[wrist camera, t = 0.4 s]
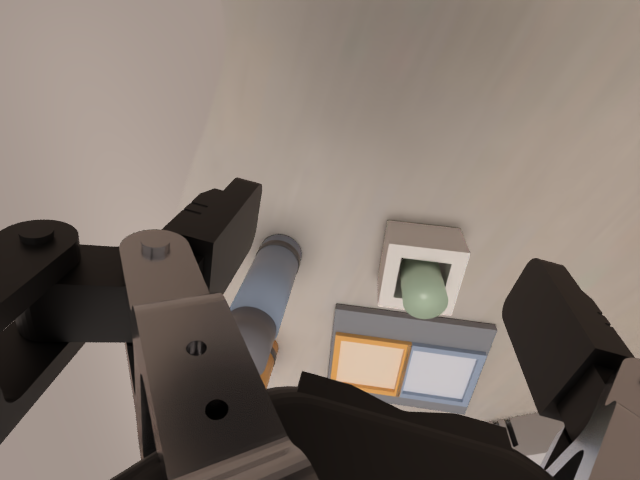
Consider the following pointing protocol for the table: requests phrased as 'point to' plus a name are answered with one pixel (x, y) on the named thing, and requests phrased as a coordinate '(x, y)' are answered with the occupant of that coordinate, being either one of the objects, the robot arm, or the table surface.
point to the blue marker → (266, 295)
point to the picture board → (409, 357)
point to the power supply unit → (531, 434)
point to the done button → (422, 288)
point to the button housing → (425, 246)
